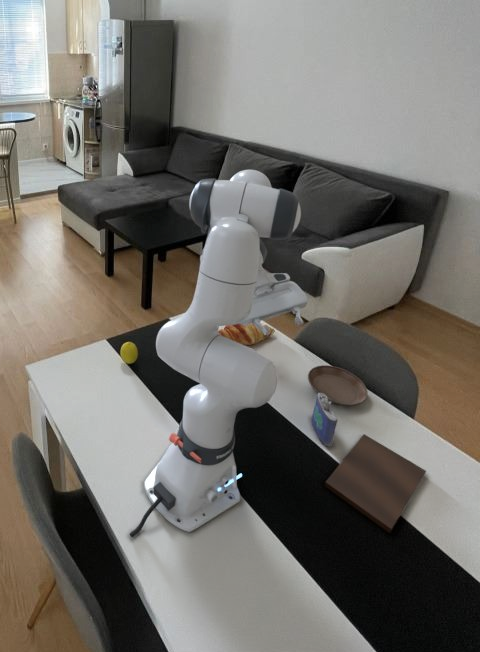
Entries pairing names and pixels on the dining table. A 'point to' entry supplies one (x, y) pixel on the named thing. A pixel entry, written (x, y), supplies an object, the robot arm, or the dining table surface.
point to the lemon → (129, 352)
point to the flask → (324, 420)
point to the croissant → (244, 333)
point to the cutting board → (376, 482)
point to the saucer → (337, 385)
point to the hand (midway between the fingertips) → (284, 328)
